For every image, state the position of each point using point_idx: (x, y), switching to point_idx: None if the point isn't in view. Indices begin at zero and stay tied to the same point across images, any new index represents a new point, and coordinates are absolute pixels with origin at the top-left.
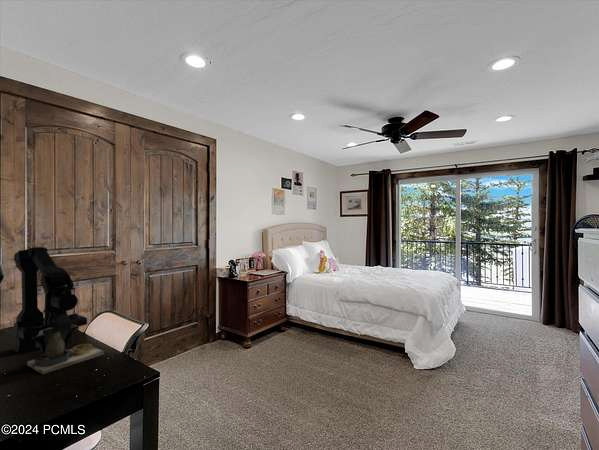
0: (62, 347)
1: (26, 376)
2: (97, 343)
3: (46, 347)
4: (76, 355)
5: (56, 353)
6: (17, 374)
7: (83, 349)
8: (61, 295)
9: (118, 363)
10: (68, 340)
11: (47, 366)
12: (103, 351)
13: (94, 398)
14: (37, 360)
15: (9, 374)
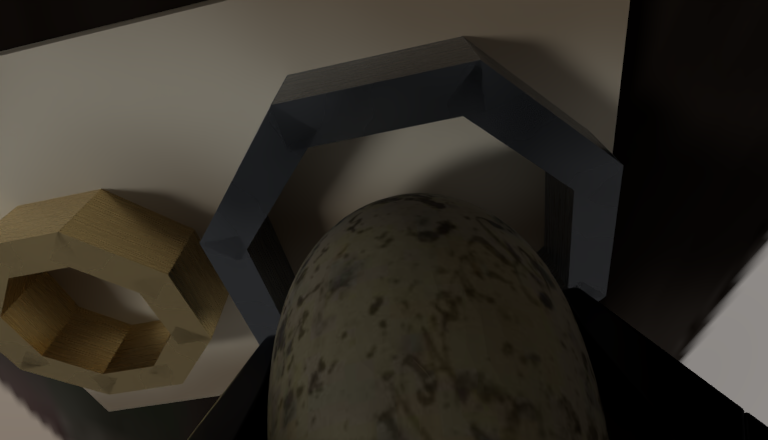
0: (314, 283)
1: (740, 8)
2: (47, 411)
3: (587, 354)
4: (174, 202)
5: (414, 202)
6: (737, 156)
7: (52, 230)
8: None
9: None
10: (193, 433)
11: (524, 59)
12: None
13: None
14: (610, 226)
15: (764, 209)
